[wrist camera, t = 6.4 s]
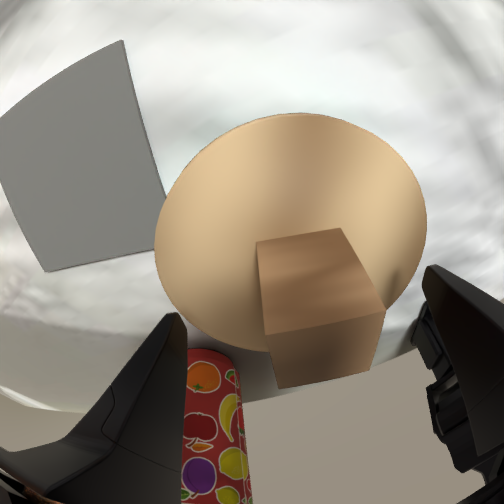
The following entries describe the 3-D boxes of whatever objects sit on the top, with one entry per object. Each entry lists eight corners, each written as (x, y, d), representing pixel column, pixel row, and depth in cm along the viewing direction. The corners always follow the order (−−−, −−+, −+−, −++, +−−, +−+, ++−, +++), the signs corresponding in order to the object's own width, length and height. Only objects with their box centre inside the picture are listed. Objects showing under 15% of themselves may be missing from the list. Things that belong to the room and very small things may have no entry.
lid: (420, 108, 8) (523, 147, 3) (396, 313, 14) (429, 386, 10) (121, 152, 8) (36, 220, 4) (205, 348, 14) (200, 431, 10)
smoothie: (202, 391, 26) (198, 560, 10) (140, 356, 23) (113, 557, 6) (266, 368, 24) (282, 571, 7) (203, 324, 20) (193, 594, 3)
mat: (123, 40, 9) (120, 39, 9) (181, 240, 16) (180, 243, 15) (-13, 131, 10) (-16, 132, 9) (46, 270, 17) (45, 272, 16)
